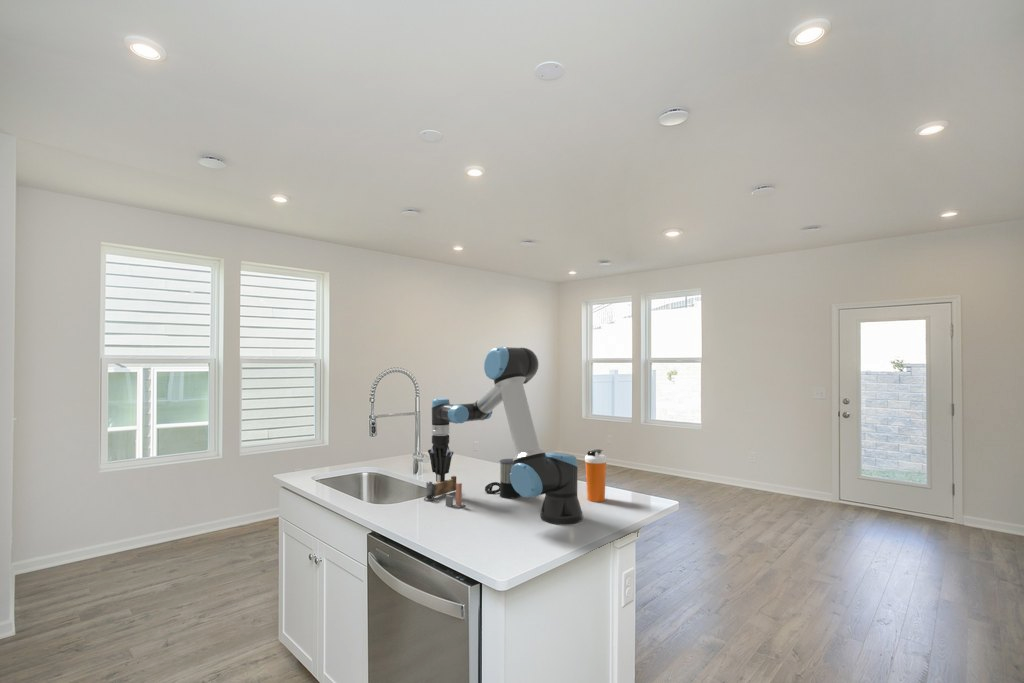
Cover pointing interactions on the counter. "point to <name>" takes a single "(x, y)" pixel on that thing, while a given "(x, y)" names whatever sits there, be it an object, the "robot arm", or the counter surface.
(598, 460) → the shaker bottle
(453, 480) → the gate
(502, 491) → the corded kitchen appliance
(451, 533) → the counter surface
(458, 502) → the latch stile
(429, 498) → the hinge post
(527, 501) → the counter surface
